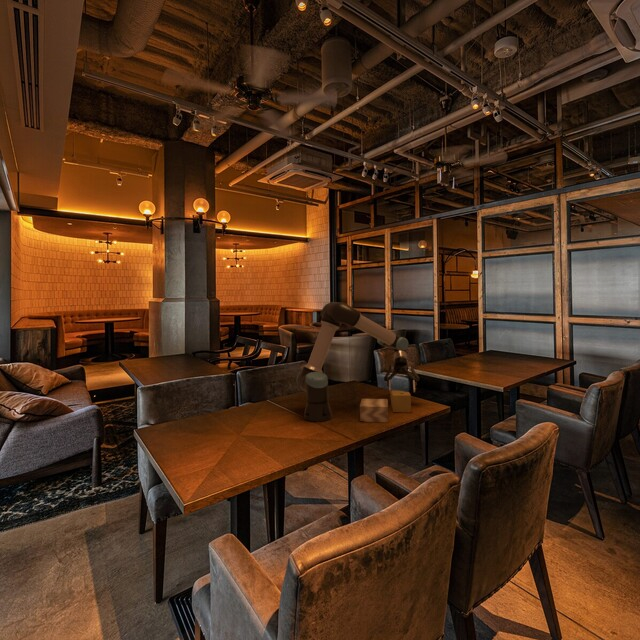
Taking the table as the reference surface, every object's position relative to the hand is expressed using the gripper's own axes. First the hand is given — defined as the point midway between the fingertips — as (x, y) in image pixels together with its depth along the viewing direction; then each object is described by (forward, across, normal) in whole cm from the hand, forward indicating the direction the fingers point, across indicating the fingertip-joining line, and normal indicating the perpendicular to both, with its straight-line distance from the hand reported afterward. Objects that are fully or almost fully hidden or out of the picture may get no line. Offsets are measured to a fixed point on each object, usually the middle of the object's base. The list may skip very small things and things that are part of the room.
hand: (402, 391), depth 213 cm
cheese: (+10, +1, -3) cm, 11 cm away
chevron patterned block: (+20, +15, +7) cm, 26 cm away
